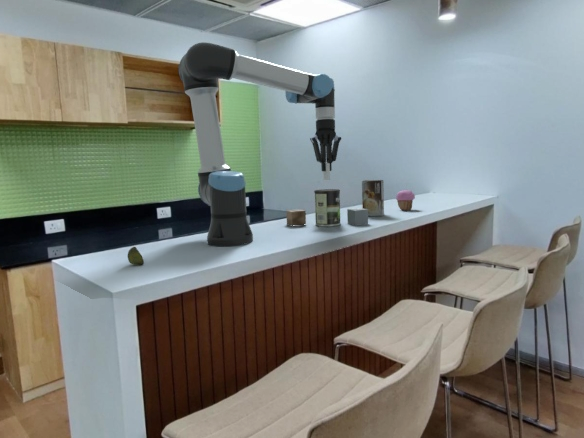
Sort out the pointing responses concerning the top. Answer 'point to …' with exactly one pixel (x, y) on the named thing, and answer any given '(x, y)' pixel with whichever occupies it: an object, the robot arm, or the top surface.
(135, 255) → the lime
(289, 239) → the top surface
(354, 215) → the slate block
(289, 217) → the walnut block
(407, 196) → the cupcake
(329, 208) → the coffee can
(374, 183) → the coffee box
